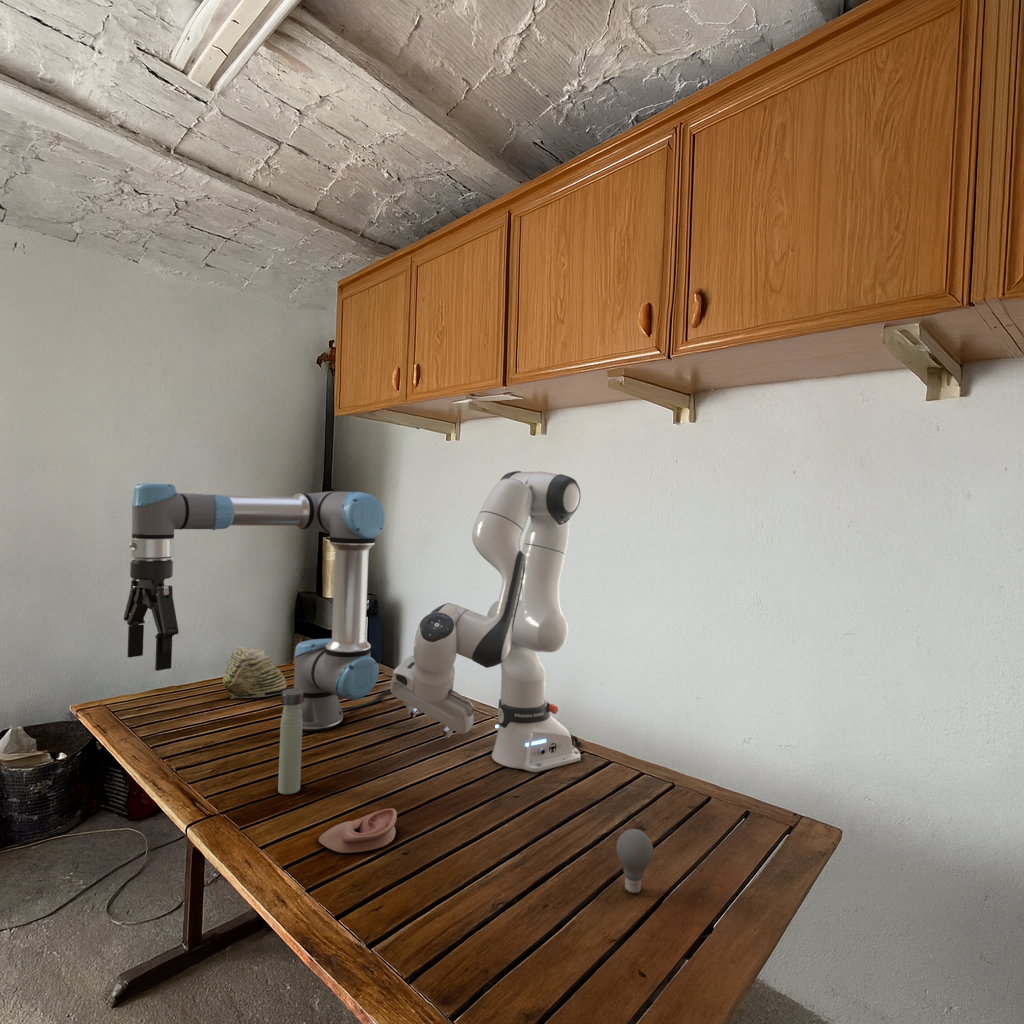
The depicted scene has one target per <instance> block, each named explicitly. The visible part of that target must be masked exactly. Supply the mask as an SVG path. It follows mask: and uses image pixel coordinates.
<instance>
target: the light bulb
mask: <svg viewBox="0 0 1024 1024" xmlns="http://www.w3.org/2000/svg"><path fill="white" fill-rule="evenodd" d="M615 849H616V854H617V857H618V859H619V861H620V863H621V865H622V867H623V873H624V874H623V875H624V876H625V878H624V888H625V890H627V891H628V892H630V893H634V894H635V893H639V892H640V891H641V889H642V887H641V886H642V879H643V877H644V875H645V871H646V868H647V867H648V866H649V864H650V863H651V861H652V859H653V855H654V847H653V843H652V841H651V838H649V836H648V835H647V834H646V833H645V832H643V831H642V830H641V829H636V828H629V829H627V830H625V831H623V832H622V833H621V834H620V835H619V837H618V839H617V841H616V847H615Z"/></svg>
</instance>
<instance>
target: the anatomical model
mask: <svg viewBox="0 0 1024 1024" xmlns="http://www.w3.org/2000/svg"><path fill="white" fill-rule="evenodd" d="M397 816H398V813H397V810H396V809H395V808H392V807H390V808H384V809H380V810H377V811H374V812H371V813H369V814H366V815H364V816H362V817H360V818H357V819H354V820H348V821H343V822H341V823H339V824H335V825H334V826H332V827H330V828H328V830H326V831H324V832H323V833H322V834H321V835H320V836H319V837H318V842H319V843H320V844H321V845H322V846H324V847H325V848H327V849H329V850H332V851H333V852H336V853H339V854H351V853H361V852H367V851H372V850H376V849H380V848H382V847H385V846H387V845H389V844H390V843H392V842H393V840H394V839H395V837H396V833H397V832H396V827H395V825H396V823H397V818H398V817H397Z"/></svg>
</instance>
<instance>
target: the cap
mask: <svg viewBox="0 0 1024 1024" xmlns="http://www.w3.org/2000/svg"><path fill="white" fill-rule="evenodd" d="M280 695H281V697H280V702H281V704H282V705H298V704H301V703H303V701H304V691H303V690H302V689H294V688H286V690H284V691H282V693H280Z"/></svg>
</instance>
